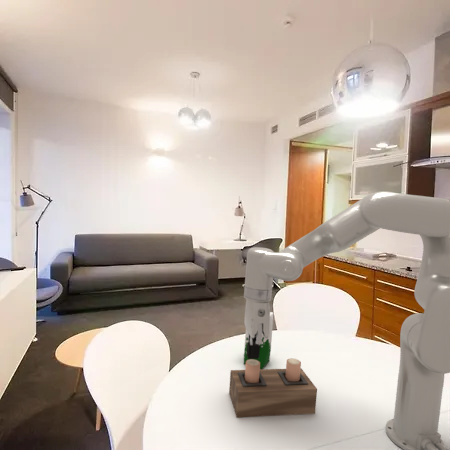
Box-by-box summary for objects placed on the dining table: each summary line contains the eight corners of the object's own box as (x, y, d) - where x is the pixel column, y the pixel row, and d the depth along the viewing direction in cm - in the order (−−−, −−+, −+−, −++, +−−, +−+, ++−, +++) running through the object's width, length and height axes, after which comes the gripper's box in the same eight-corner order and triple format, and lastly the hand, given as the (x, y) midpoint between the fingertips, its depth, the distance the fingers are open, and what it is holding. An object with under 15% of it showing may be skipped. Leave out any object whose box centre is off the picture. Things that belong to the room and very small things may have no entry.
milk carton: (272, 361, 119) (276, 306, 117) (263, 371, 111) (267, 313, 109) (250, 354, 123) (253, 301, 121) (239, 364, 115) (243, 308, 114)
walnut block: (315, 413, 91) (317, 387, 90) (236, 417, 87) (238, 390, 86) (299, 390, 101) (301, 367, 101) (229, 392, 98) (230, 368, 97)
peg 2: (301, 389, 93) (303, 364, 93) (287, 389, 92) (289, 365, 92) (295, 381, 97) (297, 357, 96) (282, 381, 96) (284, 358, 96)
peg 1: (260, 390, 91) (261, 365, 90) (245, 391, 90) (247, 366, 90) (256, 382, 95) (258, 358, 94) (242, 383, 94) (244, 358, 94)
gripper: (279, 301, 84) (273, 371, 85) (263, 285, 99) (258, 345, 100) (251, 301, 83) (245, 371, 84) (238, 285, 97) (234, 345, 99)
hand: (252, 357), depth 92 cm, fingers closed
